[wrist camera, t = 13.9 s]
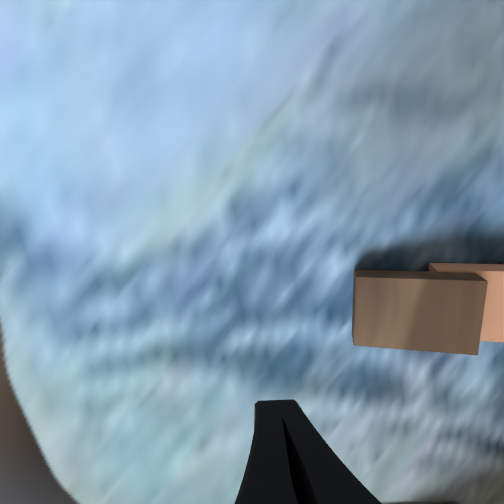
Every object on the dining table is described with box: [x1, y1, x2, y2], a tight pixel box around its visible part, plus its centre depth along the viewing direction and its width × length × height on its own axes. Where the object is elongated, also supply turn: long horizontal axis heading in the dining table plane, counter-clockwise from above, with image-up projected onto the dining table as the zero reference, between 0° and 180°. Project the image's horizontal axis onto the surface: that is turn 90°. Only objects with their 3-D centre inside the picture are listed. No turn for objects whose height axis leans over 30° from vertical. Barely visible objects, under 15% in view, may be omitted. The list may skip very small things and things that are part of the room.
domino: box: [352, 270, 488, 355], centre depth 20 cm, size 2×5×7 cm
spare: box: [429, 263, 504, 342], centre depth 20 cm, size 2×5×7 cm
